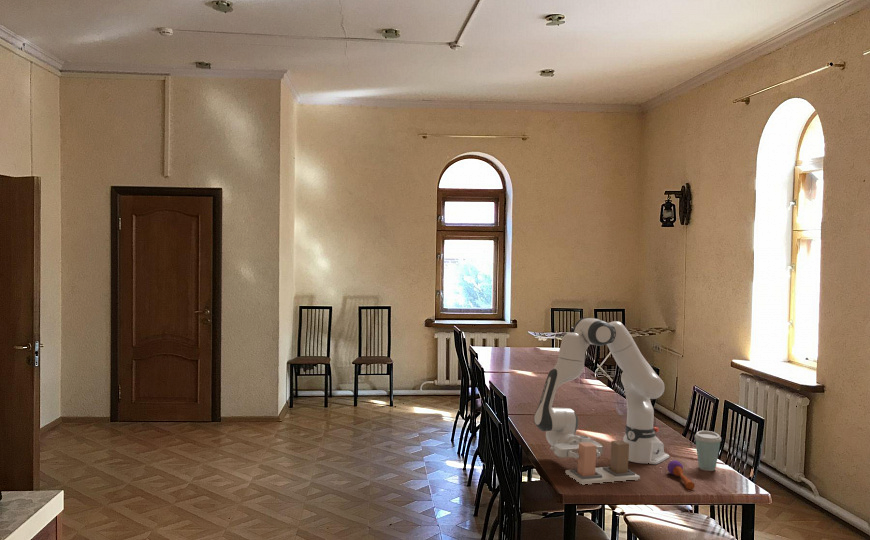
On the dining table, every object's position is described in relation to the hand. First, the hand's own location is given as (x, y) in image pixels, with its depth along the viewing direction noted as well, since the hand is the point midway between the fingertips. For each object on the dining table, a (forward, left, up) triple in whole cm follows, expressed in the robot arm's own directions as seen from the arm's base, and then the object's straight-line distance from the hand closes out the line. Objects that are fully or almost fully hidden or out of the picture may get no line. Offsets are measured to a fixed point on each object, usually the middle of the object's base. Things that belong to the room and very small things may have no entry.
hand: (588, 455), depth 274 cm
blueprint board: (-7, +2, -9) cm, 12 cm away
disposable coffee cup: (-54, +19, -9) cm, 58 cm away
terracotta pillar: (0, -1, -8) cm, 8 cm away
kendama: (-32, +22, -10) cm, 39 cm away
